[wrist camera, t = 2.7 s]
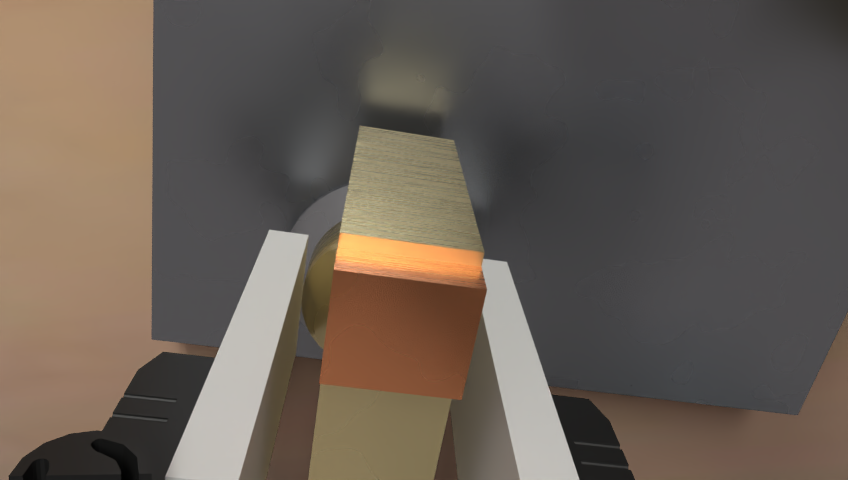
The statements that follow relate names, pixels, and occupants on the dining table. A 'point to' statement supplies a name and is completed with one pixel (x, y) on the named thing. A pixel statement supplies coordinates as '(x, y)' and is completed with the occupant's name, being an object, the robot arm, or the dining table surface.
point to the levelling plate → (535, 169)
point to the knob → (394, 309)
